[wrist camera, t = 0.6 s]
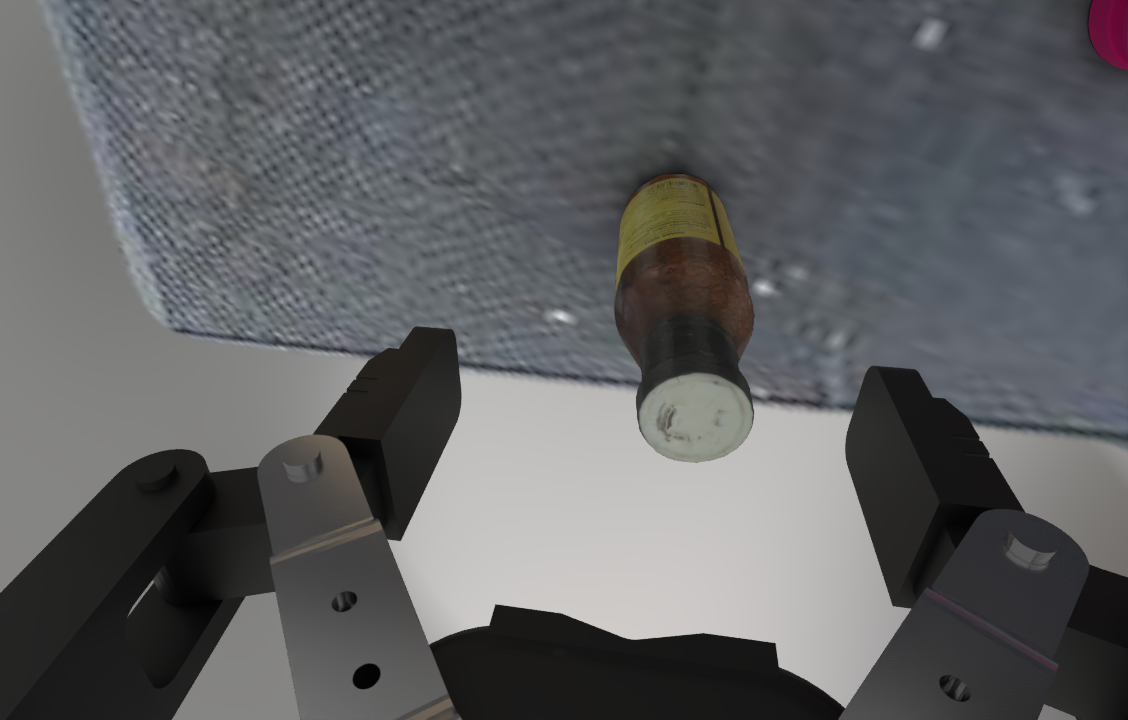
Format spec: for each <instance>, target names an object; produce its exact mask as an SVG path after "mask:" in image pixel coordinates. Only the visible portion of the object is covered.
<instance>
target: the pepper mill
mask: <svg viewBox="0 0 1128 720" xmlns="http://www.w3.org/2000/svg"><path fill="white" fill-rule="evenodd" d="M1089 33H1090V38H1091V41H1092V44H1093V46H1094V49H1095V50H1096V51H1097V53H1098V54H1099V55H1100V57H1101V58H1102V59H1104V60H1105V61H1107V62H1108V63H1109V64H1111V65H1113V66H1115V67H1118V68H1121V69H1125V70H1128V0H1093V1H1092V5H1091V9H1090V15H1089Z"/></svg>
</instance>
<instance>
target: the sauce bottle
mask: <svg viewBox="0 0 1128 720" xmlns="http://www.w3.org/2000/svg"><path fill="white" fill-rule="evenodd" d="M617 260H618V261H617V274H616V289H615V304H614V309H615V321H616V326H617V329H618V332H619V335H620V337H621V339H622V341H623V343H624V344H625V346H626V347H627V349H628V350H629V352H630V353H631V355H632V356H633V358H634V360H635V361H636V363H637V364H638V366H639V367H640V369H641V371H642V382H641V383H640V385H639V387H638V391H637V396H636V408H637V419H638V423H639V429H640V431H641V433H642V435H643V437H644V438H645V440H646V441H647V443H648V444H649V445H650V446H652V447H653V448H654V449H655V451H656V452H658V453H660V454H661V455H663V456H665V457H667V458H670V459H673V460H677V461H684V462H696V463H697V462H703V461H710V460H714V459H717V458H721V457H724V456H726V455H728V454H729V453H730V452H732V451H734V450H735V449H737V448H738V447H739V446H740V445H741V444H742V443H743V442H744V441H745V439H746V438H747V436H748V435H749V432H750V430H751V428H752V425H753V418H754V409H753V404H752V398H751V393H750V388H749V385H748V383H747V381H746V379H745V377H744V376H743V375H742V373H741V372H740V371H739V368H738V363H739V360H740V358H741V356H742V354H743V352H744V350H745V348H746V346H747V344H748V342H749V340H750V338H751V336H752V332H753V325H754V317H755V315H754V311H753V304H752V300H751V297H750V295H749V291H748V281H747V277H746V273H745V270H744V267H743V264H742V261H741V258H740V255H739V252H738V249H737V245H736V242H735V239H734V236H733V233H732V230H731V227H730V224H729V221H728V217H727V214H726V211H725V209H724V206H723V204H722V203H721V201H720V199H719V198H718V196H717V195H716V194H715V193H714V192H713V191H712V190H711V189H710V188H709V186H708V185H707V184H706V183H705V182H704V181H702V180H700V179H698V178H695V177H693V176H690V175H685V174H667V175H661V176H657V177H655V178H654V179H652V180H650V181H648V182H647V183H646V184H644V185H642V186H641V187H640V188H639V189H638V190H637V191H636V192H635V193H634V194H633V195H632V196H631V198H630V200H629V202H628V204H627V206H626V209H625V211H624V214H623V217H622V220H621V225H620V234H619V247H618V259H617Z"/></svg>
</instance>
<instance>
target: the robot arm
mask: <svg viewBox="0 0 1128 720" xmlns="http://www.w3.org/2000/svg"><path fill="white" fill-rule="evenodd" d="M460 408H461V384H460V374H459V364H458V354H457V344H456V337H455V334H454V331H453V330H451V329H441V328H430V327H418V326H417V327H414V328H413V329H412V331H411V332H410V334H409V335H408V337H407V338H406V339H405V341H404V342H403V344H402V345H401V346H400V348H399V349H394V348H388V349H386V350H385V351H383V352H381V353H380V354H378V355H377V356H375V357H374V358H372V359H370V360H369V361H368V362H367V363H366V365H365V366H364V367H363V369H362V370H361V371H360V372H359V374H358V375H357V377H356V380H353V382H352V383H351V384H350V386H349V387H348V388H347V392H346V393H344V394H343V395H342V396H341V398H340V399H339V400H338V402H337V403H336V404H335V405H334V407H333V408H332V409H331V411H330V412H329V413H328V415H327V416H326V417H325V419H324V420H323V421H322V423H321V424H320V425H319V427H318V428H317V429H316V431H315V432H314V433H313V435H307V436H301V437H298V438H294V439H291V440H288V441H286V442H284V443H282V444H280V445H278V446H277V447H275V448H274V449H272V450H271V451H270V452H269V453H268V454H266V456H265V457H264V458H263V459H262V461H261V462H260V464H259V466H258V467H253V468H245V469H237V470H228V471H221V472H212V473H210V471H209V469H208V466H207V464H206V461H205V459H204V458H203V457H202V456H201V455H200V454H198V453H197V452H194V451H191V450H184V449H175V450H166V451H161V452H158V453H154V454H151V455H148V456H146V457H143V458H141V459H139V460H137V461H135V462H133V463H131V464H130V465H128V466H127V467H125V468H124V469H123V470H121V471H120V472H119V473H118V474H117V475H116V476H115V477H114V478H113V479H112V480H111V481H110V482H109V483H108V484H107V485H106V486H105V487H104V488H103V489H102V490H101V491H100V492H99V493H98V494H97V495H96V496H95V497H94V498H93V499H92V500H91V501H90V502H89V503H88V504H87V505H86V506H85V508H83V510H81V512H79V513H78V514H77V515H76V516H75V518H74V519H73V520H72V521H71V522H70V523H69V524H68V525H67V526H66V527H65V528H64V529H63V530H62V531H61V532H60V533H59V534H58V535H57V536H56V537H55V538H54V539H53V540H52V541H51V542H50V543H49V544H48V545H47V546H46V547H45V548H44V549H43V550H42V551H41V552H40V553H39V554H38V555H37V556H36V557H35V558H34V559H33V560H32V562H30V564H28V566H27V567H26V568H24V569H23V571H22V572H21V573H20V574H19V575H18V576H17V577H16V578H15V579H14V580H13V581H12V582H11V583H10V584H9V585H8V586H7V587H6V588H5V589H4V590H3V591H2V592H1V593H0V720H172V718H173V717H174V715H175V713H176V712H177V710H178V708H179V707H180V705H181V703H182V702H183V700H184V698H185V697H186V695H187V693H188V692H189V690H190V688H191V687H192V685H193V683H194V682H195V680H196V678H197V677H198V675H199V673H200V672H201V670H202V668H203V667H204V665H205V663H206V662H207V660H208V658H209V657H210V655H211V653H212V652H213V650H214V648H215V647H216V645H217V643H218V642H219V640H220V638H221V636H222V635H223V633H224V631H225V630H226V628H227V627H228V625H229V623H230V622H231V620H232V618H233V616H234V615H235V613H236V612H237V610H238V608H239V607H240V605H241V603H242V601H243V600H244V598H245V597H246V596H250V595H256V594H262V593H269V592H276V597H277V602H278V607H279V612H280V617H281V623H282V627H283V633H284V638H285V643H286V648H287V654H288V659H289V664H290V669H291V674H292V680H293V685H294V689H295V695H296V701H297V706H298V711H299V716H300V720H1038V717H1039V715H1040V712H1041V710H1042V707H1043V705H1044V704H1046V705H1048V706H1051V707H1053V708H1055V709H1058V710H1060V711H1063V712H1065V713H1068V714H1070V715H1073V716H1075V717H1076V719H1077V720H1128V577H1125V576H1122V575H1118V574H1115V573H1112V572H1109V571H1106V570H1103V569H1100V568H1097V567H1095V566H1092V565H1089V562H1088V560H1087V557H1086V555H1085V553H1084V552H1083V550H1082V549H1081V548H1080V546H1079V545H1078V544H1077V543H1076V542H1075V541H1074V540H1073V539H1072V538H1071V537H1070V536H1068V535H1067V534H1066V533H1065V532H1063V531H1062V530H1061V529H1059V528H1058V527H1056V526H1054V525H1053V524H1051V523H1049V522H1047V521H1045V520H1043V519H1041V518H1039V517H1036V516H1034V515H1031V514H1028V513H1025V511H1024V509H1023V508H1022V506H1021V505H1020V503H1019V501H1018V500H1017V498H1016V497H1015V495H1014V493H1013V492H1012V490H1011V488H1010V486H1009V485H1008V483H1007V482H1006V480H1005V478H1004V477H1003V475H1002V473H1001V472H1000V470H999V468H998V467H997V465H996V463H995V462H994V460H993V459H992V458H989V452H988V450H987V449H986V447H985V446H984V444H983V442H982V441H979V436H978V434H977V432H976V431H975V429H974V427H973V426H972V424H971V422H970V421H969V419H968V418H967V417H966V416H965V415H964V414H963V413H962V412H960V411H959V410H958V409H957V408H955V407H954V406H953V405H952V404H950V403H949V402H948V401H947V400H946V399H943V398H933V397H932V395H931V394H930V392H929V390H928V388H927V386H926V385H925V383H924V381H923V379H922V378H921V376H920V374H919V373H918V371H917V370H915V369H905V368H893V367H881V366H871V367H870V368H869V369H868V370H867V372H866V374H865V377H864V380H863V383H862V386H861V390H860V393H859V396H858V399H857V402H856V405H855V409H854V412H853V415H852V418H851V421H850V424H849V428H848V431H847V436H846V444H845V451H846V452H845V453H846V461H847V465H848V468H849V471H850V474H851V477H852V480H853V483H854V487H855V490H856V493H857V496H858V499H859V502H860V505H861V508H862V511H863V515H864V517H865V521H866V524H867V527H868V530H869V533H870V536H871V540H872V542H873V546H874V549H875V552H876V555H877V558H878V561H879V565H880V567H881V571H882V574H883V576H884V580H885V583H886V586H887V589H888V593H889V596H890V599H891V602H892V605H893V606H896V607H904V608H911V611H910V612H909V614H908V615H907V617H906V618H905V620H904V621H903V623H902V624H901V626H900V627H899V629H898V630H897V632H896V633H895V635H894V636H893V638H892V639H891V641H890V642H889V644H888V645H887V647H886V648H885V650H884V651H883V653H882V654H881V656H880V657H879V659H878V660H877V662H876V663H875V665H874V666H873V668H872V669H871V671H870V672H869V674H868V675H867V677H866V678H865V680H864V681H863V683H862V684H861V686H860V687H859V689H858V690H857V692H856V694H855V695H854V696H853V698H852V699H851V701H850V703H849V704H848V705H847V707H846V708H844V707H843V706H841V704H840V703H838V702H837V701H836V700H834V699H833V698H832V697H830V696H829V695H828V694H826V693H825V692H824V691H823V690H821V689H820V688H818V687H816V686H815V685H813V684H812V683H810V682H808V681H807V680H805V679H803V678H801V677H799V676H797V675H795V674H793V673H791V672H789V671H787V670H784V669H782V668H779V666H778V659H777V652H776V644H775V643H769V642H763V641H756V640H748V639H741V638H734V637H727V636H719V635H712V634H705V633H702V634H691V635H682V636H671V637H662V638H651V639H640V640H631V639H626V638H623V637H620V636H618V635H615V634H612V633H610V632H607V631H605V630H602V629H599V628H597V627H595V626H592V625H589V624H587V623H584V622H582V621H579V620H577V619H574V618H571V617H569V616H566V615H564V614H561V613H554V612H546V611H538V610H532V609H525V608H517V607H510V606H503V605H495V608H494V612H493V615H492V618H491V622H490V625H489V626H483V627H477V628H472V629H468V630H464V631H460V632H457V633H454V634H452V635H449V636H446V637H444V638H442V639H440V640H438V641H436V642H433V643H431V644H430V645H429V644H428V641H427V639H426V636H425V634H424V631H423V629H422V626H421V624H420V621H419V619H418V616H417V614H416V611H415V609H414V606H413V604H412V601H411V598H410V596H409V593H408V591H407V588H406V586H405V583H404V581H403V578H402V576H401V573H400V571H399V568H398V566H397V563H396V561H395V558H394V556H393V553H392V551H391V548H390V546H389V543H388V541H387V539H389V540H397V541H401V539H402V537H403V535H404V533H405V530H406V528H407V526H408V524H409V522H410V520H411V518H412V516H413V514H414V512H415V510H416V507H417V505H418V503H419V501H420V499H421V497H422V495H423V493H424V490H425V488H426V486H427V484H428V482H429V480H430V478H431V476H432V474H433V471H434V469H435V467H436V465H437V463H438V461H439V459H440V457H441V455H442V452H443V450H444V448H445V446H446V444H447V442H448V440H449V438H450V436H451V433H452V431H453V429H454V427H455V425H456V423H457V420H458V417H459V413H460ZM152 580H153V581H154V583H153V585H152V586H151V587H150V589H149V590H148V591H147V592H146V594H145V595H144V596H143V598H142V599H141V600H140V602H139V603H138V604H137V606H136V607H135V608H134V610H133V611H132V612H131V614H130V615H129V616H128V614H129V612H130V610H131V608H132V606H133V605H134V604H135V602H136V601H137V600H138V598H139V597H140V596H141V594H142V593H143V592H144V590H145V589H146V588H147V586H148V585H149V584H150V583H151V581H152ZM127 617H128V618H127Z"/></svg>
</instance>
